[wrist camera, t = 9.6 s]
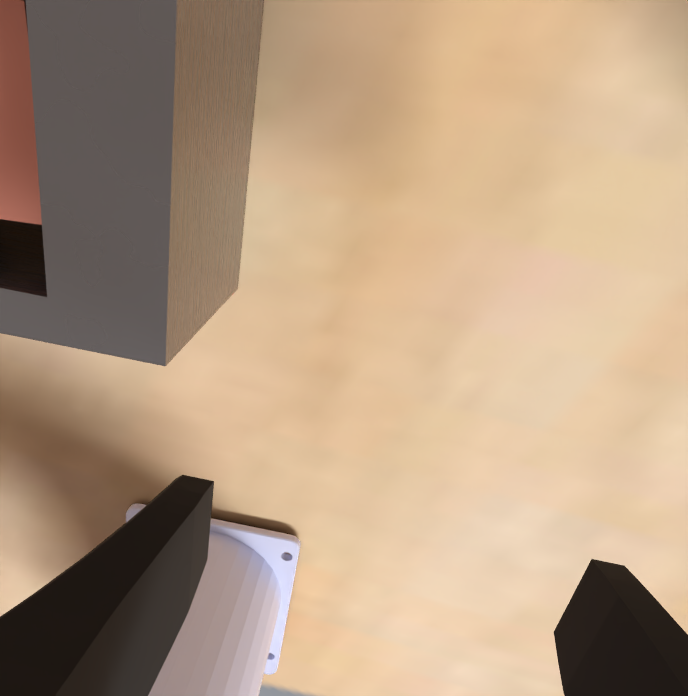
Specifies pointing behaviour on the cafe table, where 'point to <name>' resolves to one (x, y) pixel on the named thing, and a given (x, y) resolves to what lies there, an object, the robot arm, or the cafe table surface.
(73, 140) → the box with rectangular hole
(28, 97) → the tall pink block
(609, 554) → the cafe table surface
